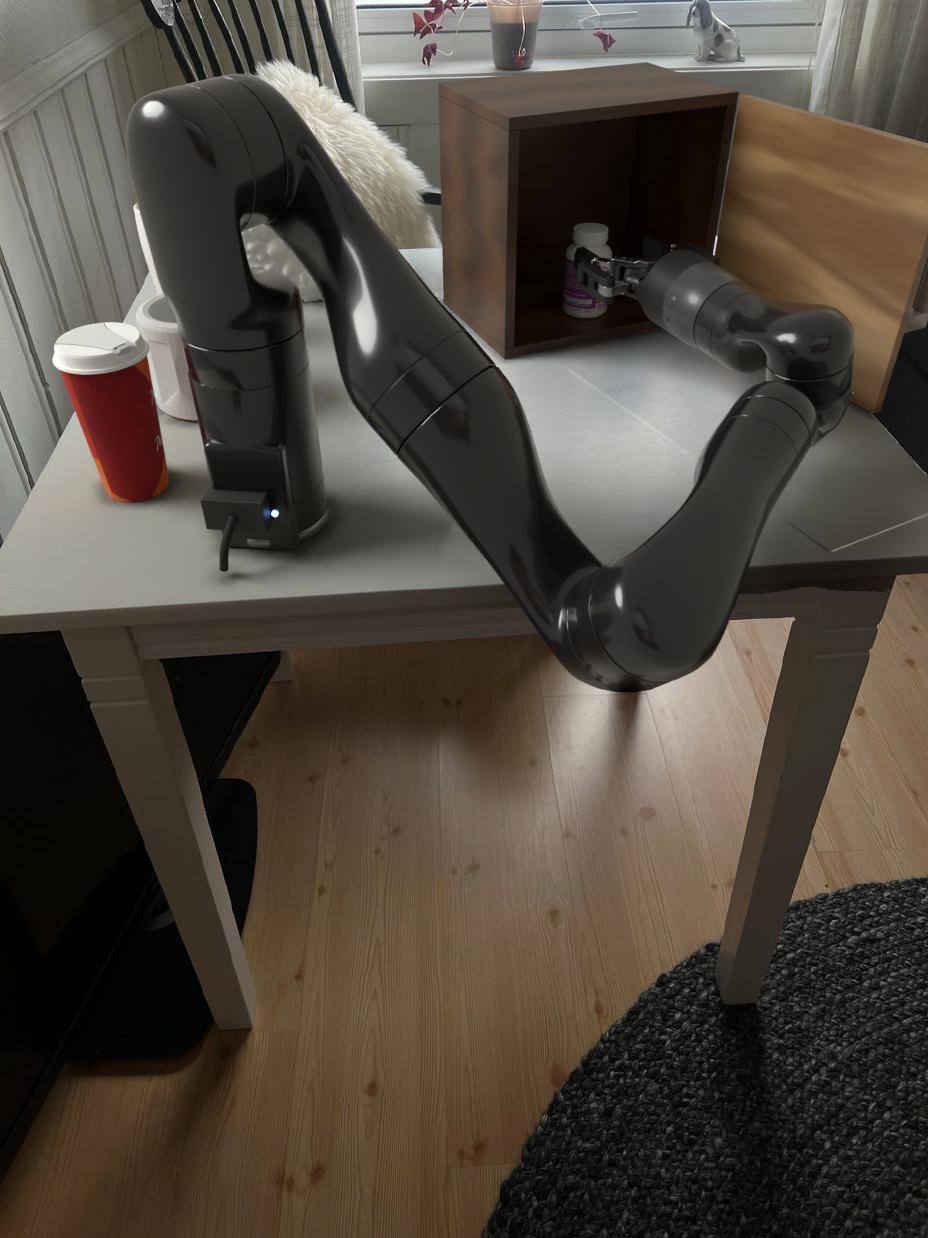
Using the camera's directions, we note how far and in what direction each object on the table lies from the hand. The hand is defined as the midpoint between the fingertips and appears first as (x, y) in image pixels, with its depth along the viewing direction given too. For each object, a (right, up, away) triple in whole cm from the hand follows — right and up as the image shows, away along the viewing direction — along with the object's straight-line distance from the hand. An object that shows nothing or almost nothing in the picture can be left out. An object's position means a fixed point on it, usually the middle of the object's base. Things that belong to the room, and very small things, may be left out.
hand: (612, 250), depth 102 cm
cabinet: (-3, -3, +12) cm, 13 cm away
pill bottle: (-2, -4, +10) cm, 10 cm away
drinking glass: (-48, -7, +8) cm, 49 cm away
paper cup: (-46, -28, -17) cm, 57 cm away
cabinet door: (+22, -11, +2) cm, 24 cm away
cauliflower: (-38, +2, +19) cm, 43 cm away
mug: (-44, -17, -3) cm, 47 cm away
